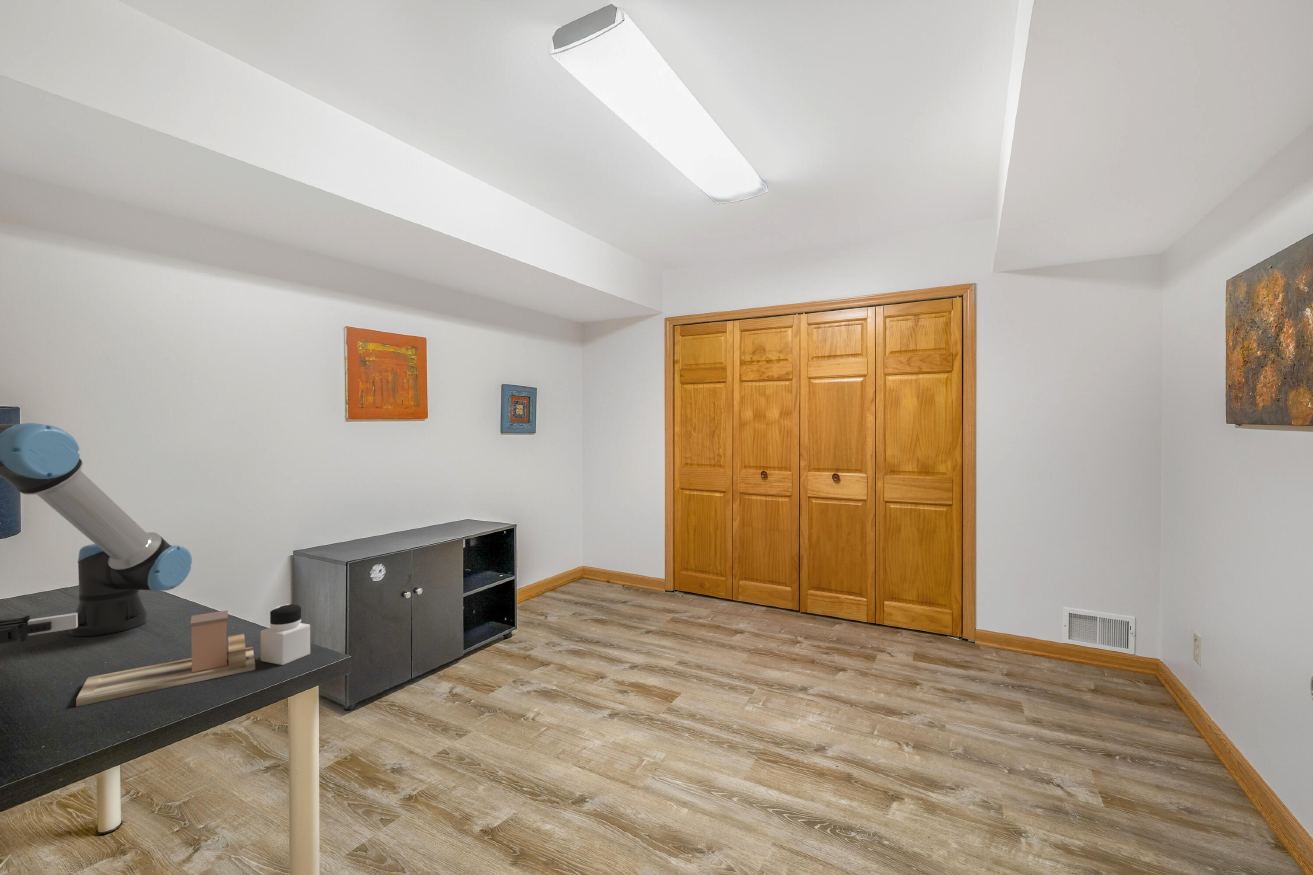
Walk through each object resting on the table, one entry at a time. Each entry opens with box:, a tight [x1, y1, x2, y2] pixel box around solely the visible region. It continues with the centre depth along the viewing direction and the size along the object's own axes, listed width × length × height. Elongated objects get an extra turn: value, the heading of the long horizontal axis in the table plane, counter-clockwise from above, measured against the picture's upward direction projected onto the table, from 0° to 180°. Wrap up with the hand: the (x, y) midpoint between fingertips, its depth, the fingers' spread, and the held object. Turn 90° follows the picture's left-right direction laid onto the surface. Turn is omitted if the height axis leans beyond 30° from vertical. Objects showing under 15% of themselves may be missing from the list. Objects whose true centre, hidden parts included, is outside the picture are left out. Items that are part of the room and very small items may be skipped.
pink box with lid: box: [189, 610, 229, 672], centre depth 125 cm, size 6×6×11 cm
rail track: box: [75, 633, 256, 707], centre depth 122 cm, size 12×28×5 cm, turn 127°
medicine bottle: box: [260, 603, 311, 666], centre depth 132 cm, size 7×7×12 cm
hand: (76, 620), depth 113 cm, fingers closed
